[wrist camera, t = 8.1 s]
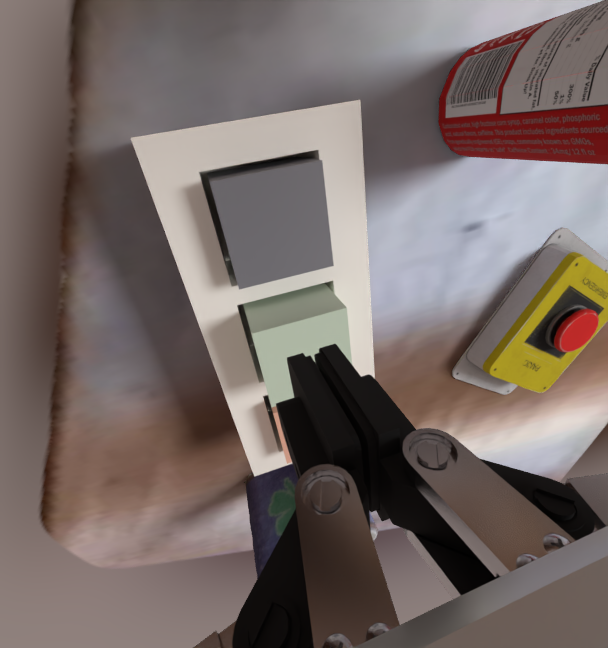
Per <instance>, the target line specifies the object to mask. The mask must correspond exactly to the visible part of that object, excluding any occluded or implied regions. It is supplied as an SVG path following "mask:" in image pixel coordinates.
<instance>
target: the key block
mask: <svg viewBox="0 0 608 648" xmlns="http://www.w3.org/2000/svg"><path fill="white" fill-rule="evenodd" d="M131 140H132V143H133V146H134V149H135V151H136V154H137V157H138V160H139V162H140V165H141V168H142V171H143V173H144V176H145V179H146V181H147V184H148V187H149V190H150V192H151V195H152V198H153V201H154V203H155V206H156V209H157V212H158V214H159V217H160V220H161V223H162V225H163V228H164V231H165V233H166V236H167V239H168V242H169V244H170V247H171V250H172V253H173V255H174V258H175V261H176V264H177V266H178V269H179V272H180V275H181V277H182V280H183V283H184V285H185V288H186V291H187V294H188V296H189V299H190V302H191V305H192V307H193V310H194V313H195V316H196V318H197V321H198V324H199V326H200V329H201V332H202V335H203V337H204V340H205V343H206V346H207V348H208V351H209V354H210V357H211V359H212V362H213V365H214V368H215V370H216V373H217V376H218V378H219V381H220V384H221V387H222V389H223V392H224V395H225V398H226V400H227V403H228V406H229V409H230V411H231V414H232V417H233V420H234V422H235V425H236V428H237V430H238V433H239V436H240V439H241V441H242V444H243V447H244V450H245V452H246V455H247V458H248V461H249V463H250V466H251V469H252V472H253V474H254V477H255V476H258V475H260V474H263V473H266V472H269V471H272V470H275V469H278V468H281V467H284V466H286V465H289V464H292V462H291V463H288V464H287V462H286V458H285V455H284V451H283V448H282V444H281V440H280V437H279V433H278V430H277V426H276V422H275V419H274V415H273V412H272V408H271V404H270V401H269V397H268V393H267V389H266V386H265V382H264V378H263V375H262V371H261V368H260V364H259V361H258V357H257V353H256V350H255V346H254V342H253V339H252V335H251V331H250V328H249V324H248V321H247V317H246V313H245V310H244V306H243V304H244V303H248V302H252V301H256V300H260V299H264V298H267V297H271V296H275V295H279V294H283V293H287V292H291V291H295V290H298V289H302V288H306V287H310V286H314V285H318V284H322V283H325V284H326V285H327V286H328V287H329V289H330V290H331V291H332V292H333V293H334V294H335V295H336V296H337V297H338V299H339V300H340V301H341V302H342V303H343V304H344V305H345V306H346V307H347V315H348V326H349V336H350V347H351V358H352V365H353V367H354V368H355V369H356V371H357V372H358V373H359V375H360V376H361V377H362V376H365V375H368V374H369V375H372V376H373V377H374V379H375V374H374V355H373V335H372V316H371V296H370V277H369V257H368V238H367V218H366V199H365V179H364V160H363V140H362V121H361V101H360V100H355V101H349V102H343V103H337V104H331V105H325V106H319V107H313V108H307V109H301V110H295V111H289V112H283V113H277V114H271V115H265V116H259V117H253V118H247V119H241V120H235V121H229V122H223V123H217V124H211V125H205V126H199V127H193V128H187V129H181V130H175V131H169V132H163V133H157V134H151V135H145V136H139V137H133V138H131ZM296 156H297V157H304V158H311V159H318V160H322V163H323V172H324V182H325V191H326V200H327V209H328V218H329V227H330V237H331V246H332V255H333V264H334V266H331V267H327V268H323V269H319V270H315V271H311V272H307V273H303V274H299V275H295V276H291V277H287V278H283V279H279V280H275V281H271V282H267V283H263V284H259V285H255V286H251V287H247V288H243V289H239V287H238V284H237V280H236V277H235V273H234V270H233V266H232V263H231V259H230V255H229V252H228V248H227V244H226V241H225V237H224V234H223V230H222V226H221V223H220V219H219V215H218V212H217V208H216V205H215V201H214V197H213V194H212V190H211V186H210V183H209V179H208V175H207V173H212V172H217V171H222V170H228V169H233V168H238V167H243V166H249V165H254V164H259V163H264V162H270V161H275V160H280V159H285V158H291V157H296Z"/></svg>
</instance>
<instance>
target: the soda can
mask: <svg viewBox="0 0 608 648" xmlns="http://www.w3.org/2000/svg"><path fill="white" fill-rule="evenodd" d="M438 123H439V126H440V130H441V133H442V136H443V139H444V141H445V143H446V144H447V145H448V146H449V148H450V149H451V150H452V151H454V152H455V153H457V154H458V155H463V156H468V157H483V158H502V159H520V160H539V161H557V162H576V163H594V164H608V0H604V1H601V2H598V3H595V4H593V5H590V6H587V7H584V8H581V9H578V10H575V11H572V12H570V13H567V14H564V15H561V16H558V17H555V18H552V19H549V20H547V21H544V22H541V23H538V24H535V25H532V26H529V27H526V28H524V29H521V30H518V31H515V32H512V33H509V34H506V35H503V36H501V37H498V38H495V39H492V40H489V41H486V42H483V43H481V44H479V45H477V46H475V47H473V48H471V49H469V50H468V51H467V52H466V53H465V54H464V55H462V56H461V57H460V59H459V60H458V61H457V63H456V64H455V65H454V67H453V68H452V70H451V71H450V73H449V75H448V78H447V80H446V83H445V86H444V88H443V91H442V93H441V96H440V98H439V120H438Z"/></svg>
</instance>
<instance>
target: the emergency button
mask: <svg viewBox="0 0 608 648" xmlns="http://www.w3.org/2000/svg"><path fill="white" fill-rule="evenodd" d="M607 321H608V261H607V260H606V259H605V258H603V257H602V256H601V255H600V254H598V253H597V252H596V251H595V250H593V249H592V248H591V247H590V246H589V245H587V244H586V243H585V242H584V241H582V240H581V239H580V238H579V237H577V236H576V235H575V234H574V233H573V232H571V231H570V230H569V229H567V228H560V229H558V230H556V231H555V232H554V233H553V234H552V235H551V236H550V237H549V239H548V240H547V241H546V243H545V244H544V245H543V247H542V248H541V249H540V251H539V252H538V254H537V255H536V256H535V258H534V259H533V260H532V262H531V263H530V264H529V266H528V267H527V268H526V270H525V271H524V273H523V274H522V275H521V277H520V278H519V279H518V281H517V282H516V283H515V285H514V286H513V287H512V289H511V290H510V292H509V293H508V294H507V296H506V297H505V298H504V300H503V301H502V302H501V304H500V305H499V306H498V308H497V309H496V311H495V312H494V313H493V315H492V316H491V317H490V319H489V320H488V321H487V323H486V324H485V325H484V327H483V328H482V329H481V331H480V332H479V334H478V335H477V336H476V338H475V339H474V340H473V342H472V343H471V344H470V346H469V347H468V348H467V350H466V351H465V353H464V354H463V355H462V357H461V358H460V359H459V361H458V362H457V363H456V365H455V366H454V368H453V370H452V376H453V377H454V378H455V379H458V380H461V381H464V382H467V383H470V384H473V385H476V386H479V387H482V388H485V389H488V390H491V391H494V392H497V393H500V394H503V395H505V394H509V393H510V392H512V391H513V390H514V389H515V388H516V387H517V386H521V387H524V388H526V389H529V390H532V391H535V392H537V393H543V392H545V391H546V390H548V389H549V388H550V387H551V386H552V384H553V383H554V382H555V381H556V380H557V379H558V377H559V376H560V375H561V374H562V373H563V372H564V371H565V369H566V368H567V367H568V366H569V365H570V364H571V362H572V361H573V360H574V359H575V358H576V357H577V356H578V354H579V353H580V352H581V351H582V350H583V349H584V348H585V346H586V345H587V344H588V343H589V342H590V341H591V339H592V338H593V337H594V336H595V335H596V334H597V333H598V331H599V330H600V329H601V328H602V327H603V326H604V324H605V323H606V322H607Z"/></svg>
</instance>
